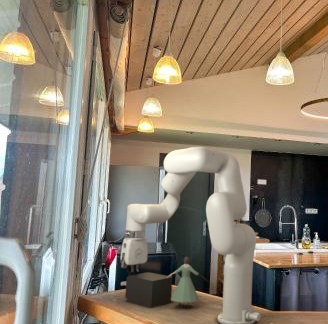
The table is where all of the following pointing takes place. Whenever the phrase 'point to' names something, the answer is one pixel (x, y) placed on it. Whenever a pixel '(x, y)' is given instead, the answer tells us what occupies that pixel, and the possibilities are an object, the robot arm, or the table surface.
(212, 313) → the table surface
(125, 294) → the drawer
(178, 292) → the character figurine
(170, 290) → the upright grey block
